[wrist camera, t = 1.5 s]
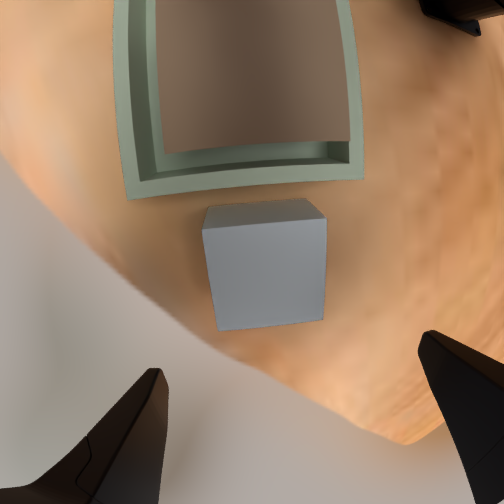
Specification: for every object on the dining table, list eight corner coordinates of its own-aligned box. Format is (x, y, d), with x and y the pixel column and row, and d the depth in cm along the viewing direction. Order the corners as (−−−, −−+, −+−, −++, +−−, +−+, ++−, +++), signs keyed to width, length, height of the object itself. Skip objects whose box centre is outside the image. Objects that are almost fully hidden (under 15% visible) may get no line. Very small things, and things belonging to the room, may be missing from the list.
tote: (310, -54, 10) (326, -82, 7) (337, 169, 17) (364, 179, 13) (139, -41, 10) (122, -69, 6) (149, 185, 17) (127, 200, 13)
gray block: (305, 197, 18) (326, 218, 14) (305, 282, 20) (323, 319, 16) (208, 206, 18) (201, 229, 14) (220, 290, 20) (217, 331, 16)
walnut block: (301, 28, 13) (332, -14, 7) (310, 137, 16) (350, 141, 10) (179, 35, 13) (155, -7, 7) (188, 147, 15) (164, 154, 10)
